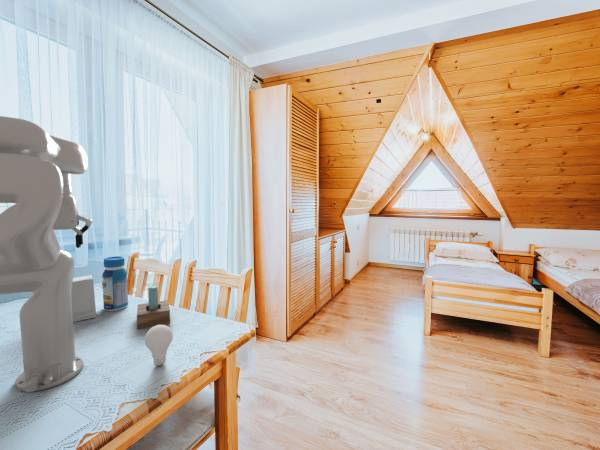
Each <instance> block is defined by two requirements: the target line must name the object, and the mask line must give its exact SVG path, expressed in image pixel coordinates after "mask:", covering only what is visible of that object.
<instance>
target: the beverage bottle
mask: <svg viewBox="0 0 600 450" xmlns="http://www.w3.org/2000/svg"><path fill="white" fill-rule="evenodd" d="M124 266H125V257H124V256H109V257H106V258H103V268H105V269H104V271H103V272H102V276H101V278H102V281H101V285H102V299H103V301H102V302H103V310H104V311H106V312H107V311H108V312H115V311H121V310H123V309H126V308H127V307H128V306H129V298H128V297H129V294H128V292H129V291H128V282H129V279H128V277H127V276H128V272H127V270H126V269H125V268H124Z"/></svg>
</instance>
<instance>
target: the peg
mask: <svg viewBox="0 0 600 450" xmlns="http://www.w3.org/2000/svg"><path fill="white" fill-rule="evenodd" d="M147 289H148V290H147V291H148V303H149V310H155V309H158V302H159V287H158V286H155V285H152V286H149V287H148V288H147Z"/></svg>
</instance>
